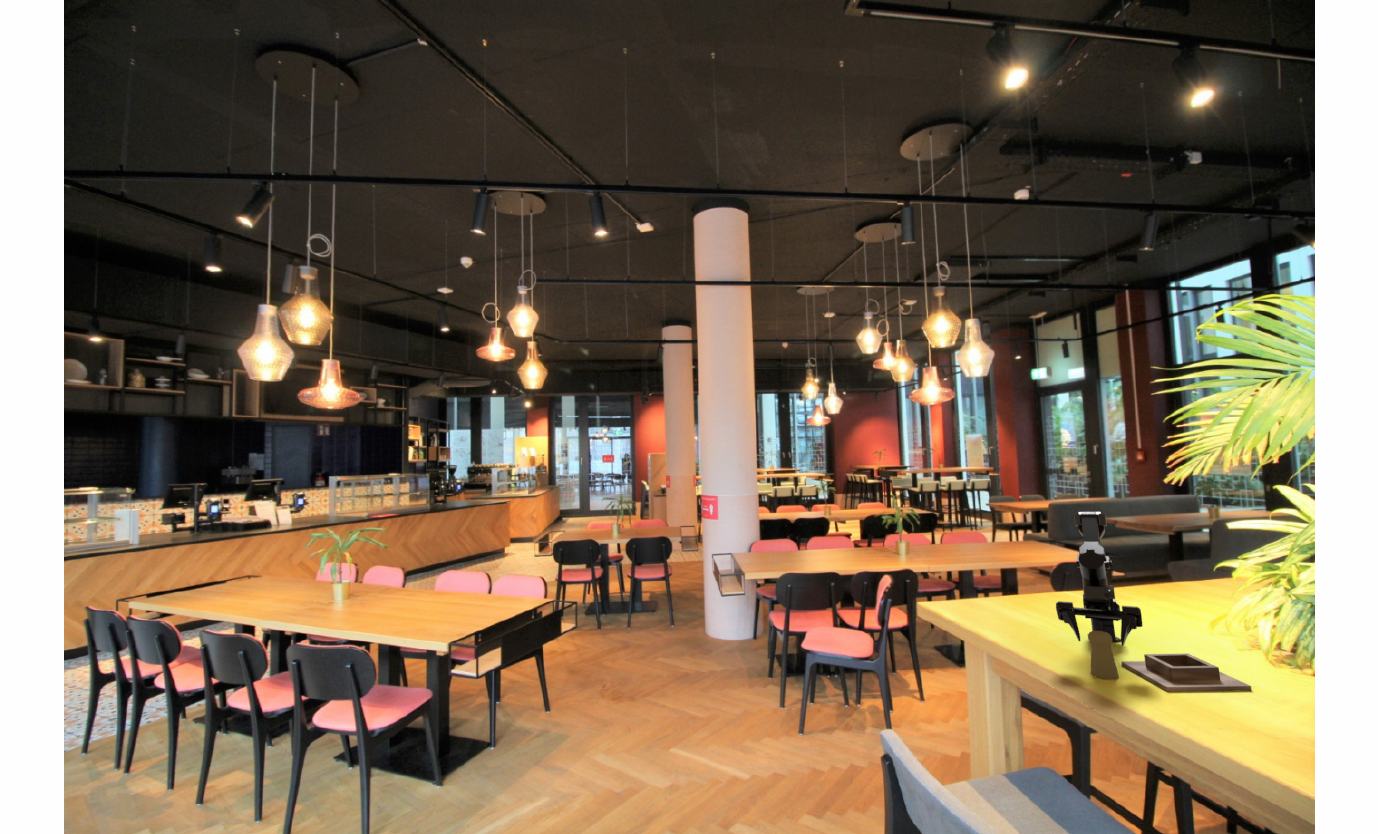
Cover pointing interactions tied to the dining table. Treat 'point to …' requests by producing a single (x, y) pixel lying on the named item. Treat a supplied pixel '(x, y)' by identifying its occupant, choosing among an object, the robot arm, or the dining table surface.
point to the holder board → (1183, 673)
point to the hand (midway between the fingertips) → (1100, 642)
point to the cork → (1102, 656)
